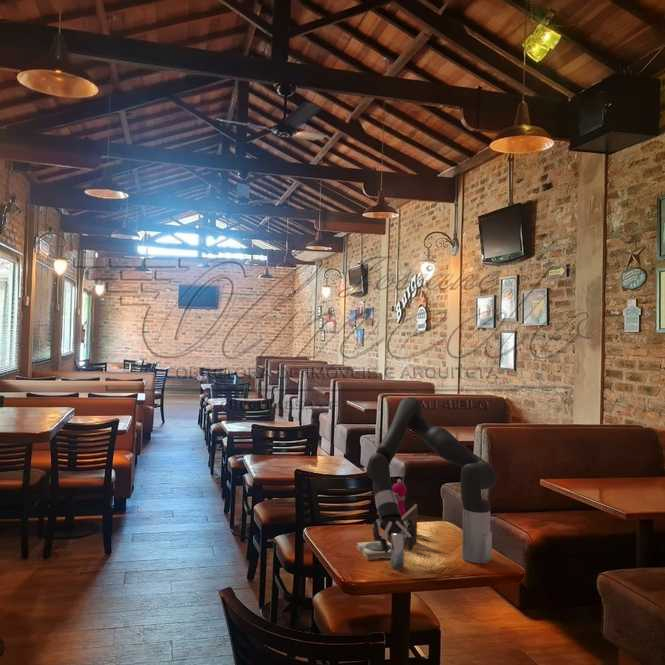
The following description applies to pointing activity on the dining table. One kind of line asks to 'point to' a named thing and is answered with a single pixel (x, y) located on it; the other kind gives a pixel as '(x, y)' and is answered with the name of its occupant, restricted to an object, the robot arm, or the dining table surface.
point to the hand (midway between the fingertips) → (398, 550)
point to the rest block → (374, 550)
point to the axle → (397, 550)
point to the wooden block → (409, 515)
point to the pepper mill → (400, 496)
